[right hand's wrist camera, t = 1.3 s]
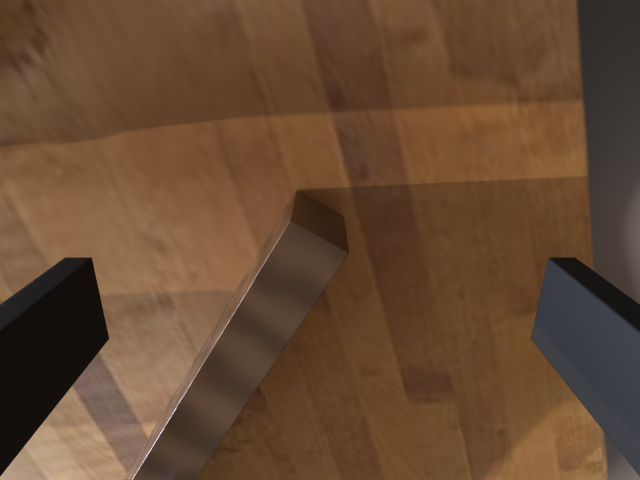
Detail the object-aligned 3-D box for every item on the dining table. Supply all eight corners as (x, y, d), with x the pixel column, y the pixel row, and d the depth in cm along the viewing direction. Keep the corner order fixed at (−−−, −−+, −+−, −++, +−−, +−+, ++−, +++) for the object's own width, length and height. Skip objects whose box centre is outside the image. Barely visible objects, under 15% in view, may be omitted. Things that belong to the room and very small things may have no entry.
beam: (296, 189, 38) (290, 219, 30) (343, 216, 39) (349, 253, 31) (93, 528, 55) (55, 605, 47) (130, 542, 56) (98, 620, 48)
